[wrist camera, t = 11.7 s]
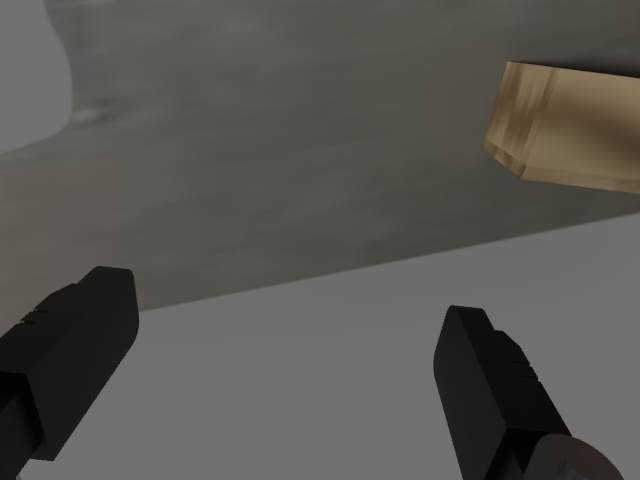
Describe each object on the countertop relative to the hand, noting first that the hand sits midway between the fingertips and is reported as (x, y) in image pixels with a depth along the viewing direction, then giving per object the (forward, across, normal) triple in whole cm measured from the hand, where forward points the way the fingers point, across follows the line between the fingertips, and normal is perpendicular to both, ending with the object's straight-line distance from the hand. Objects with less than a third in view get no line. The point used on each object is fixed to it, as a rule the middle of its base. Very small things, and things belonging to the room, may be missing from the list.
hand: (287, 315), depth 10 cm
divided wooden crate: (+30, -23, -2) cm, 38 cm away
